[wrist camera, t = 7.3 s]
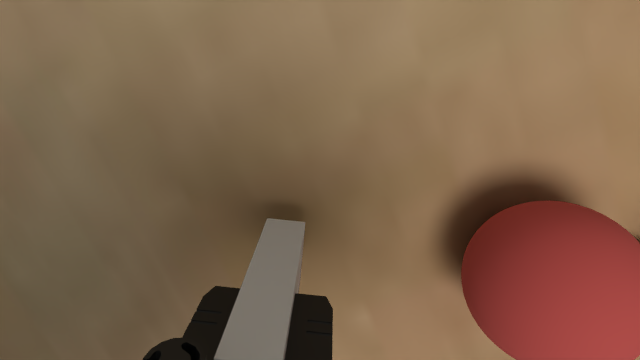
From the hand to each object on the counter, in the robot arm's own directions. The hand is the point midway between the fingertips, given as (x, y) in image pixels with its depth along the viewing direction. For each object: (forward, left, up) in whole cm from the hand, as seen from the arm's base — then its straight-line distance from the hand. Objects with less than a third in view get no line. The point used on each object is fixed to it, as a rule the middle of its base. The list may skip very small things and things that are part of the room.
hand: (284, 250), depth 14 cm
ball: (+10, 0, +1) cm, 10 cm away
